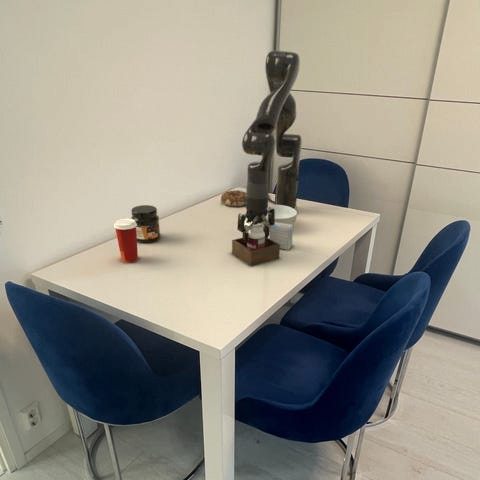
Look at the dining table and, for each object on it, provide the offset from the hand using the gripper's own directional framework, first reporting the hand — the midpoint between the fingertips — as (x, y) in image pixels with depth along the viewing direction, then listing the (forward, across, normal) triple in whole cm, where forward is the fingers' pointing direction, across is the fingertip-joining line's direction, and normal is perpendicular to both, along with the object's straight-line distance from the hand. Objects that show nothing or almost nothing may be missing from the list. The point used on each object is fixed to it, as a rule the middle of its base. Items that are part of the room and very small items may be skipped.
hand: (255, 239), depth 163 cm
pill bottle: (+6, 0, 0) cm, 6 cm away
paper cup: (+6, +40, -21) cm, 46 cm away
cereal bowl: (+7, -24, -20) cm, 32 cm away
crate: (+6, 0, 0) cm, 6 cm away
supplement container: (+7, +27, -36) cm, 45 cm away
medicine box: (+7, -13, -2) cm, 15 cm away
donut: (+7, -27, -56) cm, 62 cm away
